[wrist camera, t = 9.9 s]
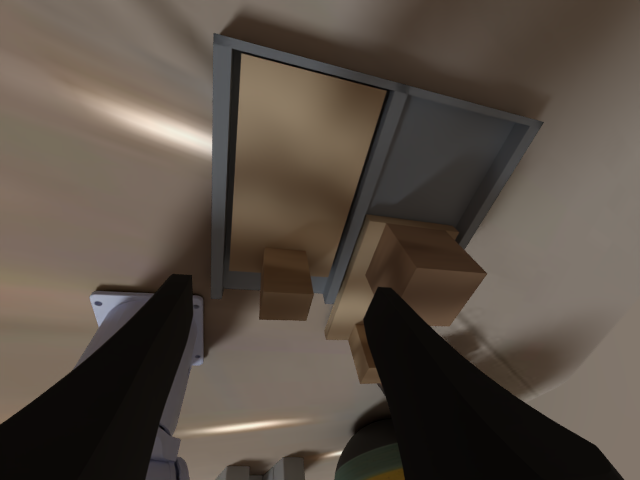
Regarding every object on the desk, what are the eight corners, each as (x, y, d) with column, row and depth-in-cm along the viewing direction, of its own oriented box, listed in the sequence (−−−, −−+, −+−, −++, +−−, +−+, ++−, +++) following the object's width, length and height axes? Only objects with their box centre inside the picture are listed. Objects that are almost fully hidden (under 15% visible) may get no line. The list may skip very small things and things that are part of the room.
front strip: (326, 269, 23) (339, 321, 18) (230, 262, 21) (220, 318, 16) (380, 88, 16) (424, 104, 11) (243, 53, 14) (230, 54, 9)
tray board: (420, 296, 27) (428, 307, 26) (214, 285, 23) (210, 298, 21) (525, 117, 18) (543, 122, 17) (218, 34, 14) (213, 33, 12)
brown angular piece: (392, 332, 29) (414, 381, 25) (324, 331, 27) (334, 384, 23) (452, 225, 22) (497, 268, 18) (365, 214, 20) (392, 259, 16)
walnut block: (418, 278, 24) (449, 326, 20) (365, 274, 22) (386, 324, 18) (445, 230, 21) (487, 273, 17) (386, 223, 20) (416, 267, 16)
